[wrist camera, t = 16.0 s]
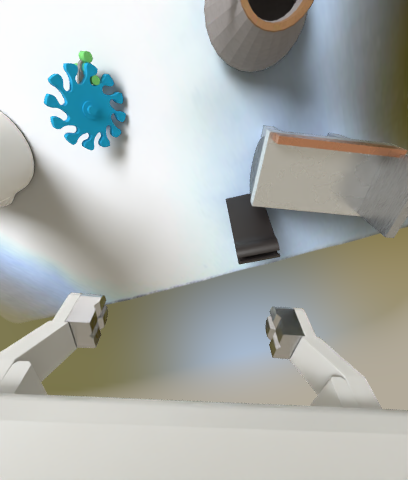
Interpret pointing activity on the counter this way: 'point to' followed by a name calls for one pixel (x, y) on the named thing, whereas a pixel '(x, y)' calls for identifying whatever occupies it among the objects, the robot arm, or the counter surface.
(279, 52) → the coffee pot
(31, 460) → the robot arm
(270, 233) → the phone stand
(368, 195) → the trolley
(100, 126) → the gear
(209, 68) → the counter surface
